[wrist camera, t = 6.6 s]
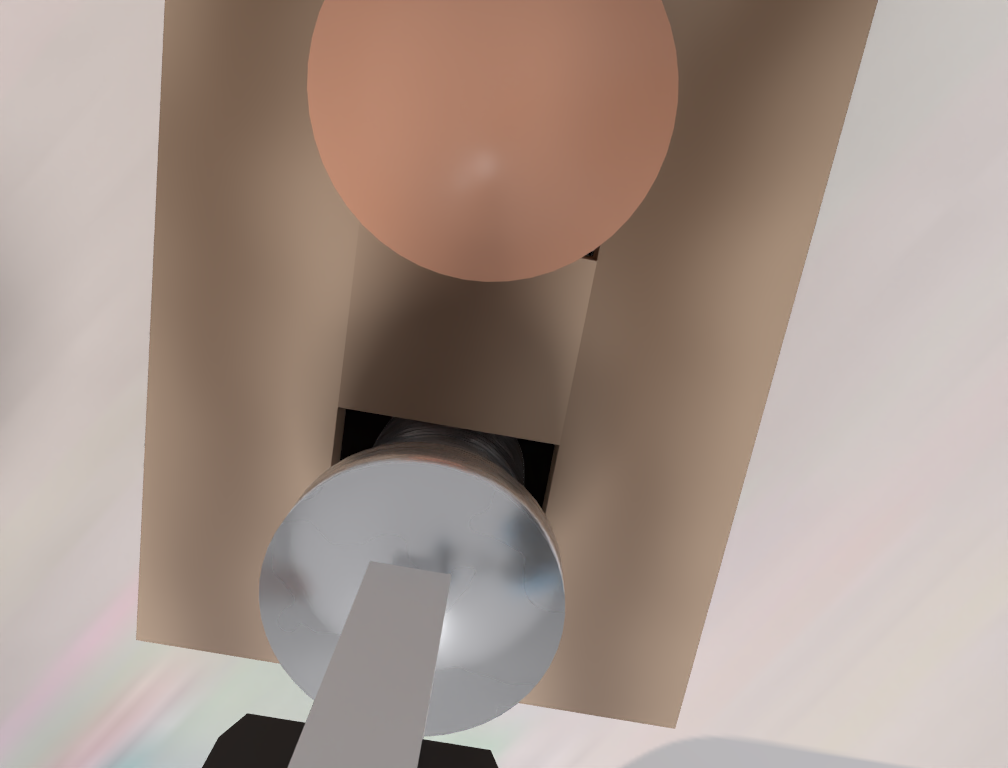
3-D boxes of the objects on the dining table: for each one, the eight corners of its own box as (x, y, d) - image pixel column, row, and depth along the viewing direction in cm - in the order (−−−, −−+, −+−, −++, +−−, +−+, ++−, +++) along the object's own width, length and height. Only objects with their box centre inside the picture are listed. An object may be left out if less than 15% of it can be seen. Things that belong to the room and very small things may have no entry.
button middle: (645, 20, 18) (718, -77, 11) (596, 263, 20) (633, 309, 13) (403, -24, 18) (327, -149, 11) (372, 224, 20) (290, 248, 13)
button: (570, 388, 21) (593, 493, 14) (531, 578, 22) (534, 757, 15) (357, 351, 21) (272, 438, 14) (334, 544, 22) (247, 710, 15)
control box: (898, -431, 18) (1080, -728, 12) (640, 601, 25) (675, 728, 19) (312, -546, 17) (205, -909, 12) (226, 532, 25) (135, 639, 19)
